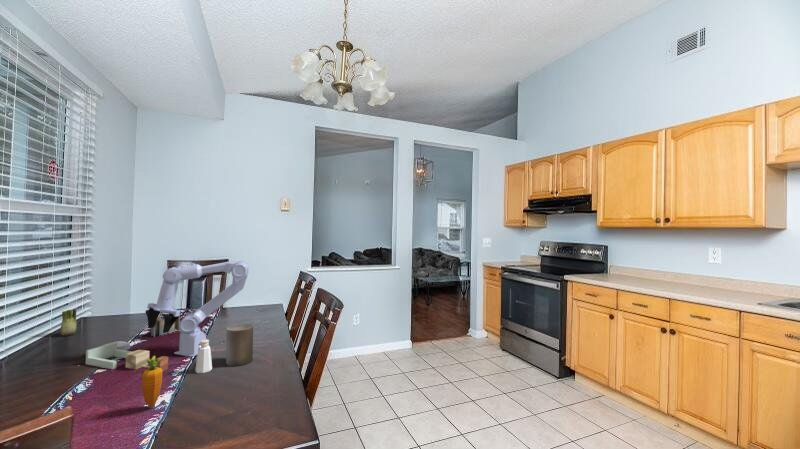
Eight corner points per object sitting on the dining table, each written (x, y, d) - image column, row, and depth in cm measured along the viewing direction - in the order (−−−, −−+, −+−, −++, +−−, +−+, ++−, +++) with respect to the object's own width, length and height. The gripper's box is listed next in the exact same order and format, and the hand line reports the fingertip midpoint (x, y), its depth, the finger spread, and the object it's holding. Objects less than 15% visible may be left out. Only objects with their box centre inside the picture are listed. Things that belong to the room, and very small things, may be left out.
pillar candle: (258, 359, 135) (259, 321, 136) (237, 368, 126) (238, 328, 127) (241, 355, 139) (241, 318, 140) (219, 363, 131) (220, 324, 131)
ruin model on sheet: (154, 338, 158) (155, 317, 158) (151, 337, 160) (151, 316, 160) (180, 332, 168) (180, 312, 168) (176, 331, 169) (177, 311, 170)
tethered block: (170, 368, 125) (170, 354, 125) (157, 373, 120) (157, 359, 120) (139, 362, 129) (139, 349, 130) (125, 367, 125) (126, 354, 125)
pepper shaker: (215, 368, 126) (216, 339, 126) (202, 374, 121) (203, 343, 121) (204, 366, 127) (205, 337, 128) (191, 372, 122) (192, 341, 122)
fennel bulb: (75, 332, 162) (76, 307, 162) (78, 334, 159) (79, 309, 159) (58, 335, 157) (59, 309, 158) (60, 337, 155) (61, 311, 155)
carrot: (148, 403, 100) (149, 353, 100) (165, 403, 101) (167, 353, 101) (136, 412, 95) (138, 359, 96) (154, 412, 96) (156, 359, 96)
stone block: (82, 362, 134) (101, 359, 131) (82, 349, 134) (100, 347, 132) (114, 352, 145) (132, 350, 143) (114, 341, 145) (131, 339, 143)
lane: (140, 359, 133) (141, 346, 133) (113, 369, 123) (113, 355, 123) (114, 354, 136) (114, 342, 136) (85, 364, 127) (86, 350, 127)
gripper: (144, 293, 136) (135, 327, 135) (172, 301, 133) (163, 336, 131) (159, 292, 143) (151, 324, 142) (187, 300, 139) (179, 332, 138)
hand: (158, 329), depth 137 cm, fingers open, 7 cm apart
